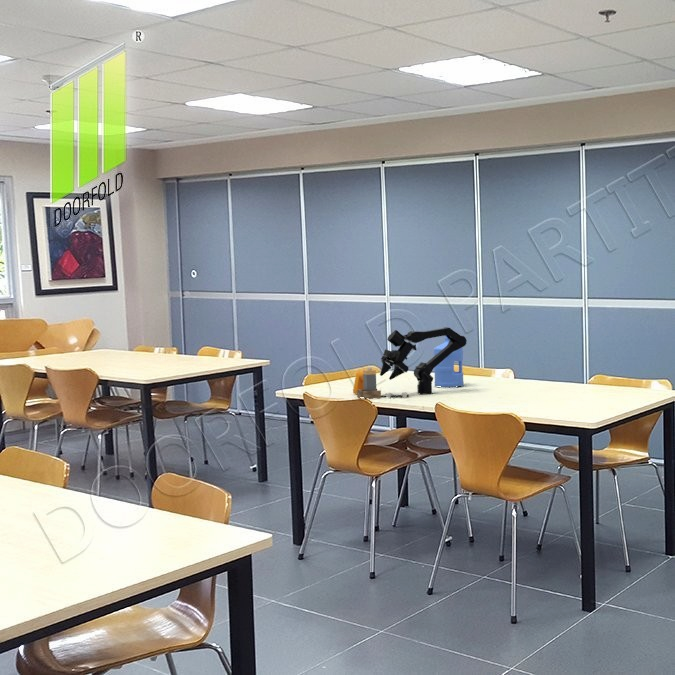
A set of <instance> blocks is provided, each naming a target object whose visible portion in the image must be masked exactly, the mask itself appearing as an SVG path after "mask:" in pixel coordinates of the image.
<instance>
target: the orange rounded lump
mask: <svg viewBox="0 0 675 675" xmlns="http://www.w3.org/2000/svg"><path fill="white" fill-rule="evenodd" d="M353 384H354V385H353V390H352V393H353V394H356V395H357V389H364V386H363V370H358V371H357V372H356V374H355V378H354V383H353Z"/></svg>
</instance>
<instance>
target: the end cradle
mask: <svg viewBox="0 0 675 675" xmlns="http://www.w3.org/2000/svg"><path fill="white" fill-rule="evenodd" d="M356 395H357V398H358V399H360V397H364V398H369V399H368V400H373V398H377V399H382V397H381V395H382V390H378V388H377V387H376V391H364V389H357V394H356Z"/></svg>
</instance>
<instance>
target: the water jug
mask: <svg viewBox="0 0 675 675" xmlns="http://www.w3.org/2000/svg"><path fill="white" fill-rule="evenodd" d="M449 341H450V340H449V339H448V338H447V337H446V336H444V342H442V343H441V344H439V345H437V346H435V347H434V348H433V357H434V356H435V355H436V354H438V353H439V352H440V351H441V350H442V349H444V348H445V347H446V346H447V345H448V343H449ZM463 348H464V347H462V348H460V349H458V350H456V351H454V352H452V353H451V354H450V355H449V356H448V357H446V358H445V359H444V360H443V361H442V362H440V363H439V364H438V365H437V366H436V367H435V368H433V370H434V372H433V373H434V387H436V386H441V387H456V386H462V387H463V386H464V385H465V384H464V382H465V381H464V371H463V358H464V350H463ZM455 362H458V371H455V365H454V364H455ZM456 388H457V387H456Z"/></svg>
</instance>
